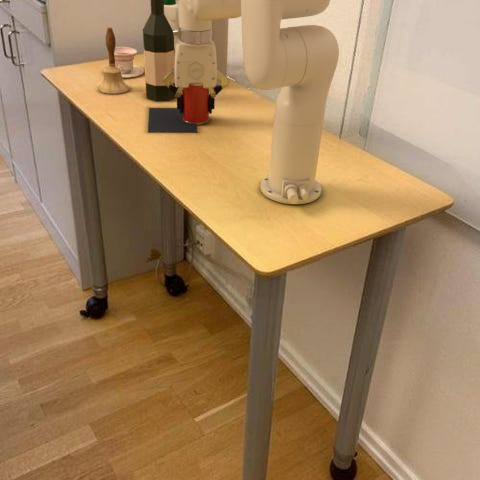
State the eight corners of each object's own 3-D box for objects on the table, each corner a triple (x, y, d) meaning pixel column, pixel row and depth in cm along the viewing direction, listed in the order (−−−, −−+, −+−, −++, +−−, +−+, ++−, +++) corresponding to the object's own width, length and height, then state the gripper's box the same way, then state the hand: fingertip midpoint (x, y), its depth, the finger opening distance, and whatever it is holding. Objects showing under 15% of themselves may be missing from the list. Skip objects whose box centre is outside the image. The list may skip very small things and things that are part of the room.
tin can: (209, 124, 146) (210, 84, 140) (182, 124, 146) (182, 83, 139) (208, 115, 151) (208, 75, 145) (182, 114, 151) (181, 75, 144)
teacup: (152, 71, 177) (151, 50, 173) (126, 81, 169) (124, 59, 165) (122, 63, 181) (120, 42, 177) (95, 73, 173) (92, 51, 169)
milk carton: (167, 62, 184) (165, -9, 172) (195, 65, 183) (194, -6, 171) (158, 70, 178) (155, -3, 165) (187, 74, 177) (186, 0, 164)
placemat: (197, 132, 143) (197, 132, 142) (147, 132, 141) (147, 132, 141) (194, 108, 155) (194, 108, 155) (149, 108, 154) (149, 107, 153)
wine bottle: (181, 98, 160) (179, -26, 141) (154, 103, 156) (148, -24, 137) (166, 89, 165) (163, -32, 146) (140, 93, 161) (132, -30, 142)
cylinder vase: (190, 72, 178) (190, -21, 162) (230, 77, 176) (233, -16, 160) (178, 85, 168) (177, -12, 152) (220, 90, 167) (223, -7, 151)
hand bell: (126, 83, 167) (121, 23, 157) (131, 93, 161) (127, 31, 151) (96, 85, 165) (90, 24, 155) (101, 95, 159) (94, 32, 149)
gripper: (157, 39, 132) (160, 117, 143) (233, 41, 134) (231, 117, 145) (158, 30, 138) (161, 106, 149) (231, 32, 140) (228, 106, 151)
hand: (195, 111), depth 147 cm, fingers closed on tin can, 6 cm apart
